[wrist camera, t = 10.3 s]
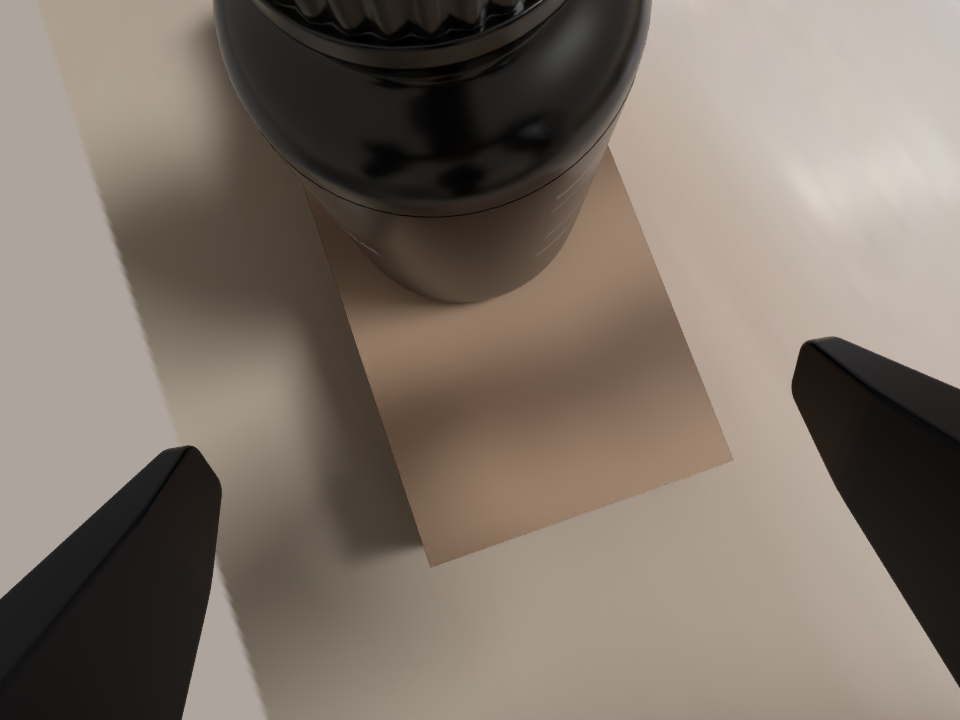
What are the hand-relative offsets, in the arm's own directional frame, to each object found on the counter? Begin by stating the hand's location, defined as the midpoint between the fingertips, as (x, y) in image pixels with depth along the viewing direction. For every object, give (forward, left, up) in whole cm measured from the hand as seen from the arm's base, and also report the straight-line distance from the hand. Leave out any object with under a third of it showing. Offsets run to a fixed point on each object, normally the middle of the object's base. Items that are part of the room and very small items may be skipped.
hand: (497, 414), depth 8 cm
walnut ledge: (+6, +2, -11) cm, 13 cm away
